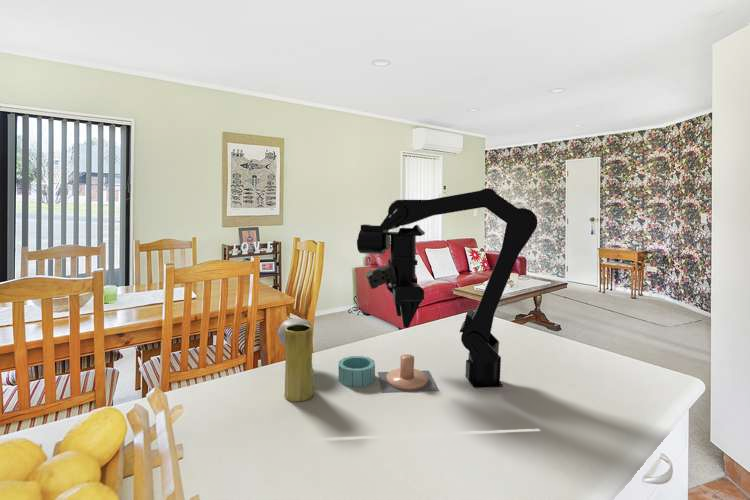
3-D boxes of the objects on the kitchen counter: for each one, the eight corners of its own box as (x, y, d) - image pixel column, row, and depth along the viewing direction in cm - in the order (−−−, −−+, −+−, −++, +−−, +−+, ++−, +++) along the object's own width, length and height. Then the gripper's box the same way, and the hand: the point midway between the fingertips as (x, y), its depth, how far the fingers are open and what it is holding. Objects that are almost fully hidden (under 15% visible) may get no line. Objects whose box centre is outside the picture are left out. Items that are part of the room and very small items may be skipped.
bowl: (373, 372, 94) (373, 355, 93) (376, 387, 86) (376, 369, 86) (338, 373, 93) (338, 356, 93) (338, 389, 85) (338, 371, 85)
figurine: (288, 361, 100) (287, 314, 99) (317, 363, 99) (316, 316, 97) (274, 374, 92) (272, 323, 91) (305, 377, 91) (304, 326, 89)
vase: (308, 403, 79) (307, 333, 77) (279, 400, 80) (277, 331, 79) (318, 389, 85) (317, 324, 83) (291, 386, 86) (290, 322, 85)
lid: (422, 371, 93) (423, 348, 93) (431, 389, 85) (432, 364, 84) (384, 372, 93) (384, 349, 92) (389, 391, 84) (389, 365, 83)
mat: (428, 372, 94) (428, 370, 94) (439, 392, 84) (439, 390, 84) (377, 373, 93) (377, 372, 93) (382, 394, 83) (382, 392, 83)
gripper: (364, 250, 100) (365, 311, 102) (371, 261, 82) (371, 335, 84) (408, 250, 101) (408, 310, 103) (425, 260, 83) (424, 334, 85)
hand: (402, 321), depth 94 cm, fingers open, 9 cm apart
